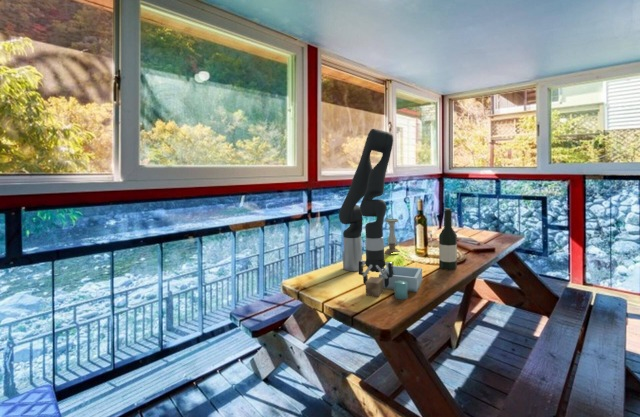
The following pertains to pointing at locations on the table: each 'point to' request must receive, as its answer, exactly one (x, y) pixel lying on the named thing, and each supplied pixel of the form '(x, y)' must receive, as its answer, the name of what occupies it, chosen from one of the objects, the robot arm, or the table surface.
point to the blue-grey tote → (404, 277)
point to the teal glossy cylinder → (401, 289)
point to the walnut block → (374, 287)
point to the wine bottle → (448, 244)
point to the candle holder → (391, 237)
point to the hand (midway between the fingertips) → (376, 285)
